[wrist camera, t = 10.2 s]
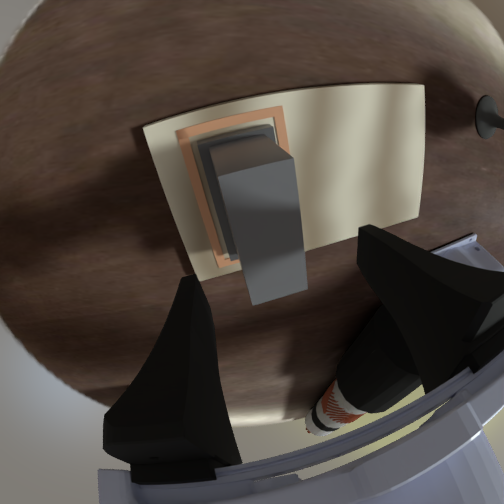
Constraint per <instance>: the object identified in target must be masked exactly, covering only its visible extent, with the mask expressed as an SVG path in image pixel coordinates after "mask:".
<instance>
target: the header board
mask: <svg viewBox="0 0 504 504" xmlns="http://www.w3.org/2000/svg"><path fill="white" fill-rule="evenodd" d="M143 130H144V133H145V136H146V140H147V143H148V146H149V149H150V152H151V155H152V158H153V161H154V164H155V167H156V170H157V173H158V176H159V178H160V181H161V184H162V187H163V190H164V193H165V195H166V198H167V201H168V204H169V206H170V209H171V212H172V215H173V217H174V220H175V223H176V225H177V228H178V230H179V233H180V236H181V238H182V241H183V243H184V246H185V248H186V251H187V253H188V256H189V258H190V261H191V263H192V266H193V268H194V271H195V273H196V275H197V277H198V279H199V281H203V280H207V279H210V278H214V277H217V276H221V275H224V274H228V273H231V272H235V271H238V270H242V268H241V265H240V261H239V258H238V254H237V251H236V247H235V244H234V240H233V236H232V233H231V229H230V225H229V222H228V218H227V214H226V211H225V207H224V203H223V200H222V196H221V192H220V188H219V185H218V181H217V177H216V173H215V170H214V166H213V162H212V158H211V154H210V151H209V147H212V146H216V145H220V144H224V143H228V142H231V141H236V140H240V139H244V138H248V137H252V136H257V135H262V134H265V135H266V136H267V137H268V138H270V139H271V140H272V141H273V142H275V143H276V144H277V145H278V146H280V147H281V148H282V149H283V150H285V151H286V152H287V153H288V154H290V155H291V156H292V157H293V158H294V163H295V170H296V178H297V186H298V194H299V202H300V211H301V220H302V230H303V240H304V251H308V250H311V249H314V248H318V247H321V246H324V245H328V244H331V243H335V242H338V241H341V240H345V239H348V238H351V237H355V236H358V227H361V226H364V225H368V224H371V225H374V226H376V227H378V228H380V229H381V228H384V227H387V226H391V225H394V224H397V223H400V222H404V221H407V220H410V219H413V218H416V217H418V214H419V206H420V198H421V189H422V179H423V166H424V149H425V90H424V85H421V84H416V83H359V84H341V85H329V86H318V87H309V88H301V89H293V90H286V91H279V92H273V93H267V94H262V95H256V96H251V97H246V98H241V99H237V100H232V101H228V102H223V103H219V104H215V105H211V106H207V107H203V108H199V109H196V110H192V111H189V112H185V113H182V114H178V115H175V116H172V117H169V118H166V119H162V120H159V121H156V122H153V123H151V124H148V125H145V126H144V127H143Z"/></svg>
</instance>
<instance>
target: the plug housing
mask: <svg viewBox="0 0 504 504" xmlns="http://www.w3.org/2000/svg"><path fill="white" fill-rule="evenodd" d="M209 151H210V154H211V158H212V162H213V166H214V170H215V173H216V177H217V181H218V185H219V188H220V192H221V196H222V200H223V203H224V207H225V211H226V214H227V218H228V222H229V225H230V229H231V233H232V236H233V240H234V244H235V247H236V251H237V254H238V258H239V261H240V265H241V268H242V271H243V275H244V278H245V281H246V285H247V288H248V291H249V295H250V298H251V301H252V305H257V304H260V303H263V302H267V301H270V300H274V299H277V298H280V297H284V296H287V295H290V294H293V293H297V292H300V291H303V290H306V289H308V286H307V274H306V262H305V251H304V240H303V230H302V220H301V211H300V202H299V194H298V186H297V178H296V170H295V163H294V158H293V157H292V156H291V155H290V154H288V153H287V152H286V151H285V150H283V149H282V148H281V147H280V146H278V145H277V144H276V143H275V142H273V141H272V140H271V139H270V138H268V137H267V136H266V135H265V134H262V135H257V136H252V137H248V138H244V139H240V140H236V141H231V142H228V143H224V144H220V145H216V146H212V147H209Z"/></svg>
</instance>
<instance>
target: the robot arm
mask: <svg viewBox="0 0 504 504" xmlns="http://www.w3.org/2000/svg"><path fill="white" fill-rule="evenodd" d="M476 238H477V235H476V234H475V233H474V234H472V235H469V236H467V237H465V238H462V239H460V240H458V241H456V242H453V243H451V244H448V245H446V246H444V247H441V248H439V249H437V250H434V251H432V252H429V251H426V250H424V249H422V248H420V247H417V246H415V245H413V244H411V243H409V242H407V241H405V240H403V239H401V238H399V237H397V236H395V235H393V234H391V233H389V232H387V231H385V230H383V229H380V228H378V227H376V226H374V225H371V224H368V225H364V226H361V227H358V248H357V264H358V266H359V268H360V270H361V272H362V274H363V276H364V277H365V279H366V281H367V282H368V284H369V285H370V286H371V288H372V289H373V290H374V292H375V293H376V295H377V296H378V297H379V299H380V300H381V302H382V303H383V304H384V306H385V307H386V308H387V310H388V311H389V313H390V314H391V316H392V317H393V319H394V320H395V322H396V324H397V326H398V328H399V329H400V331H401V333H402V335H403V337H404V339H405V341H406V344H407V346H408V348H409V350H410V352H411V355H412V357H413V360H414V362H415V365H416V367H417V370H418V373H419V376H420V379H421V382H422V385H423V388H424V392H425V395H424V396H422V397H420V398H419V399H417V400H415V401H413V402H412V403H410V404H408V405H406V406H404V407H403V408H400V409H398V410H397V411H395V412H393V413H391V414H389V415H387V416H384V417H382V418H380V419H378V420H376V421H374V422H372V423H369V424H367V425H365V426H363V427H360V428H358V429H356V430H353V431H351V432H348V433H346V434H343V435H341V436H338V437H336V438H333V439H330V440H328V441H325V442H322V443H319V444H316V445H313V446H310V447H306V448H304V449H300V450H297V451H293V452H290V453H287V454H283V455H279V456H275V457H271V458H267V459H263V460H259V461H255V462H249V463H245V464H242V460H241V457H240V453H239V450H238V447H237V444H236V441H235V437H234V434H233V430H232V427H231V423H230V420H229V416H228V412H227V408H226V404H225V400H224V396H223V391H222V387H221V382H220V376H219V369H218V359H217V349H216V338H215V328H214V323H213V318H212V313H211V309H210V305H209V303H208V301H207V298H206V296H205V294H204V291H203V289H202V287H201V284H200V282H199V279H198V277H197V275H196V274H193V275H189V276H185V277H182V278H181V280H180V283H179V287H178V290H177V293H176V296H175V299H174V301H173V304H172V307H171V309H170V312H169V315H168V317H167V320H166V322H165V324H164V327H163V329H162V331H161V334H160V336H159V338H158V340H157V342H156V344H155V346H154V348H153V350H152V351H151V353H150V355H149V357H148V358H147V360H146V362H145V363H144V365H143V367H142V368H141V370H140V371H139V373H138V375H137V376H136V377H135V379H134V380H133V381H132V383H131V384H130V386H129V387H128V388H127V390H126V391H125V392H124V393H123V395H122V396H121V397H120V398H119V399H118V400H117V401H116V403H115V404H114V405H113V406H112V407H111V408H110V409H109V410H108V411H107V413H106V414H105V415H104V423H103V449H104V450H105V452H106V453H107V454H109V455H111V456H113V457H115V458H117V459H120V460H122V461H124V462H126V463H129V464H130V468H131V471H128V470H114V469H99V470H98V491H99V504H504V474H503V471H502V469H501V467H500V464H499V462H498V460H497V458H496V456H495V454H494V451H493V449H492V447H491V445H490V443H489V442H488V439H487V437H486V435H485V433H484V431H483V426H484V425H485V424H486V423H487V422H488V421H490V420H491V418H493V417H494V416H495V415H496V414H497V413H498V412H499V411H500V410H501V409H502V408H503V407H504V267H503V266H502V265H501V264H500V263H499V262H498V261H497V260H496V259H495V258H494V257H493V256H492V255H491V254H490V253H489V252H487V251H486V250H485V249H484V248H483V247H482V246H481V245H480V244H479V243H477V242H476ZM448 400H449V401H448ZM447 401H448V402H447ZM445 402H447V403H445ZM444 403H445V404H444ZM442 404H444V405H443V406H441V405H442ZM439 406H441V407H440V408H439V409H437V410H436V411H435V412H434V414H433V415H432V416H431V417H430V418H429V419H428V420H427V421H426V422H424V423H423V424H422V425H421V426H420V427H419V428H418V429H417V430H415V431H413V432H411V433H409V434H407V435H406V436H404V437H402V438H400V439H398V440H396V441H394V442H392V443H390V444H389V445H386V446H384V447H382V448H380V449H378V450H376V451H374V452H372V453H370V454H368V455H366V456H363V457H361V458H359V459H357V460H355V461H352V462H350V463H348V464H345V465H343V466H340V467H338V468H335V469H333V470H331V471H328V472H325V473H323V474H320V475H317V476H314V477H311V478H308V479H305V480H301V479H300V478H298V475H297V474H291V475H285V476H280V477H275V476H279V475H283V474H287V473H290V472H294V471H298V470H301V469H304V468H308V467H311V466H314V465H317V464H320V463H323V462H326V461H328V460H331V459H334V458H337V457H340V456H342V455H345V454H347V453H350V452H352V451H355V450H357V449H359V448H362V447H364V446H366V445H369V444H371V443H373V442H375V441H377V440H380V439H382V438H384V437H386V436H388V435H390V434H392V433H394V432H396V431H398V430H400V429H402V428H403V427H405V426H407V425H409V424H411V423H413V422H414V421H416V420H418V419H420V418H421V417H423V416H425V415H426V414H428V413H430V412H431V411H433V410H435V409H436V408H438V407H439ZM271 477H274V478H271ZM267 478H268V479H267ZM262 479H263V480H262Z"/></svg>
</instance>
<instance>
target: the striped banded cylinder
mask: <svg viewBox="0 0 504 504" xmlns="http://www.w3.org/2000/svg"><path fill="white" fill-rule="evenodd" d="M336 377H337V378H336V379H335V380H334V381H333V382H332V384H331V385H330V386H329V388H328V389H327V391H326V392H325V394H324V395H323V396H322V397H321V398H320V400H319V401H318V402H317V403H316V404H315V406H314V407H313V408H312V409H311V410H310V411H309V412H308V413H307V415H306V418H305V424H306V430H308V431H307V432H308V433H312V434H314V435H317V436H326V435H328V434H330V433H331V432H333V431H335V430H337V429H339V428H340V427H343V426H345V425H346V424H348V423H351V422H353V421H355V420H356V419H358V418H359V417H361V416H362V415H364V414H365V413H367V412H368V413H379V412H384V411H386V410H387V409H389V408H390V407H392V406H393V405H395V404H396V403H398V402H399V401H400V400H402V399H403V398H404V397H406V396H407V395H408V394H410V393H411V392H412V391H414V390H415V389H416V388H418V387H419V386H420V385H421V384H422V382H421V379H420V376H419V373H418V370H417V367H416V365H415V362H414V360H413V357H412V355H411V352H410V350H409V348H408V346H407V344H406V341H405V339H404V337H403V335H402V333H401V331H400V329H399V328H398V326H397V324H396V322H395V320H394V319H393V317H392V316H391V314H390V313H389V311H388V310H387V308H386V307H385V306H384V304H383V305H382V306H380V307H379V309H378V310H377V312H376V313H375V314H374V316H373V317H372V319H371V320H370V321H369V323H368V324H367V325H366V327H365V328H364V329H363V331H362V332H361V333H360V335H359V336H358V337H357V339H356V340H355V341H354V343H353V344H352V345H351V346H350V348H349V349H348V350H347V351H346V353H345V354H344V355H343V356H342V358H341V360H340V362H339V364H338V366H337V371H336Z"/></svg>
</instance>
